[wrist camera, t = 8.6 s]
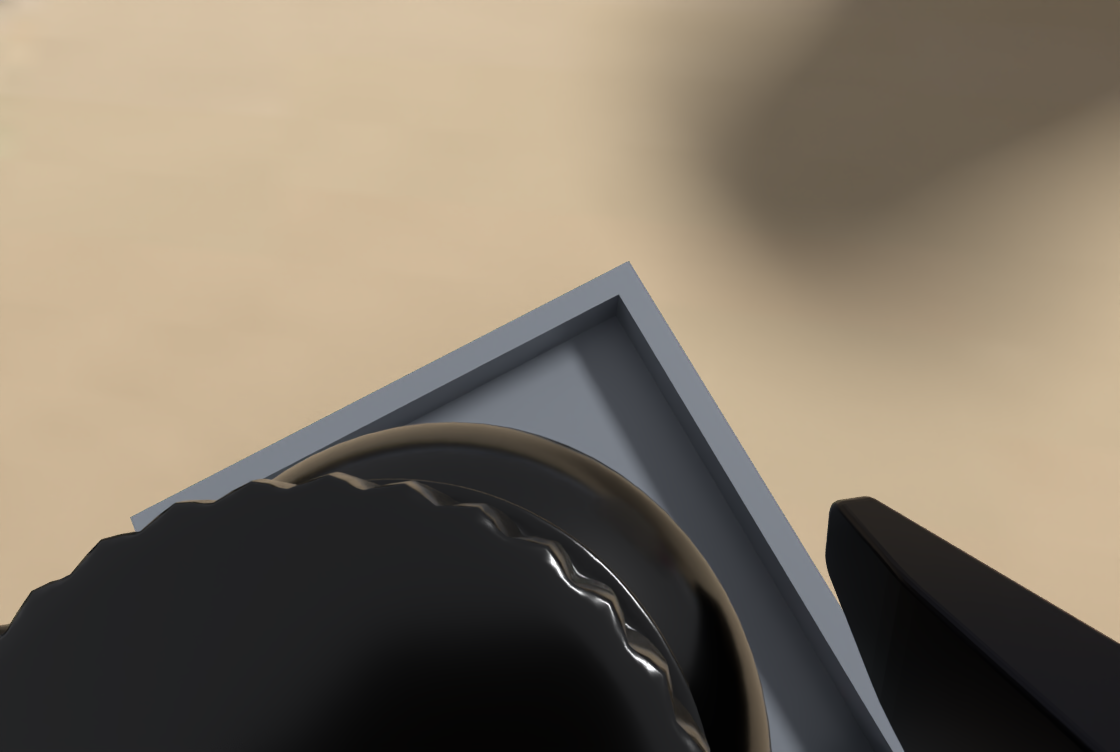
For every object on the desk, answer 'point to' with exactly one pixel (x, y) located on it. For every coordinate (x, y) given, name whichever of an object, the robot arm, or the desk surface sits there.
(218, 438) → the desk surface
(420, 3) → the desk surface
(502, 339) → the tray
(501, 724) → the supplement bottle
